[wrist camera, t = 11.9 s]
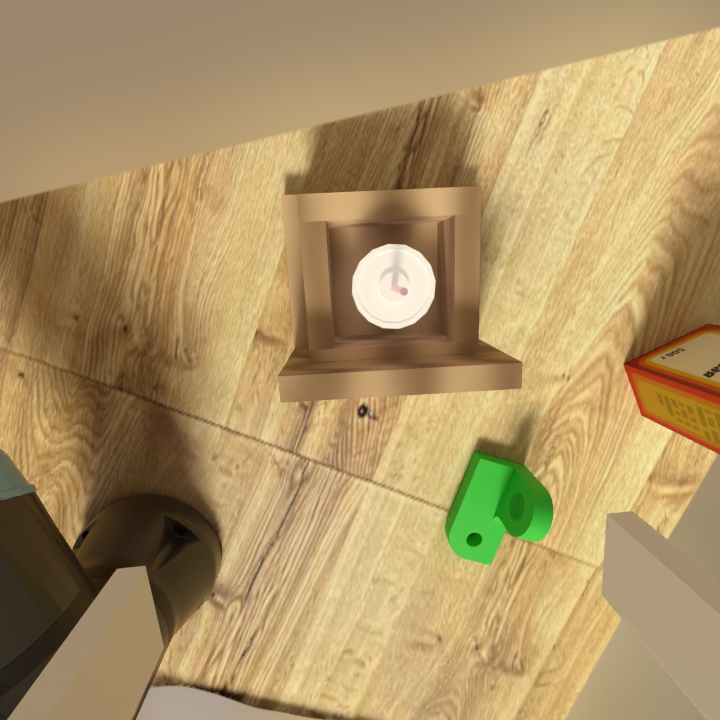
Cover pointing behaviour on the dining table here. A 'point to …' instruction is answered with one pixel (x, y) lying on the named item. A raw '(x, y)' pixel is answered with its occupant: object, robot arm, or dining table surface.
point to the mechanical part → (496, 508)
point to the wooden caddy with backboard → (364, 339)
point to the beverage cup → (393, 286)
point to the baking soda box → (682, 385)
